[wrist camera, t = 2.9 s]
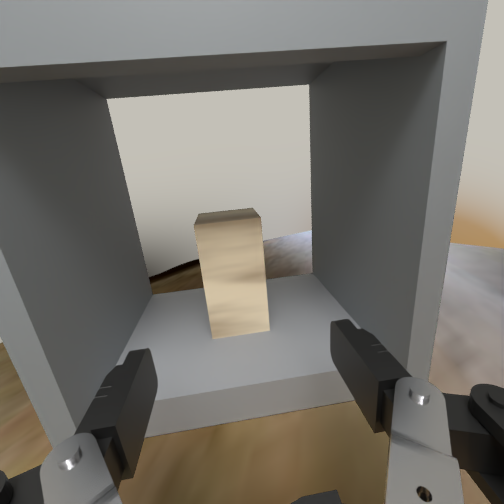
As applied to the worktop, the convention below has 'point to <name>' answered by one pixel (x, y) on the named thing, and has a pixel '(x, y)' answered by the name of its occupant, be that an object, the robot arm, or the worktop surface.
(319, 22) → the box
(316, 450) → the worktop surface
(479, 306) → the worktop surface
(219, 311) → the maple block
